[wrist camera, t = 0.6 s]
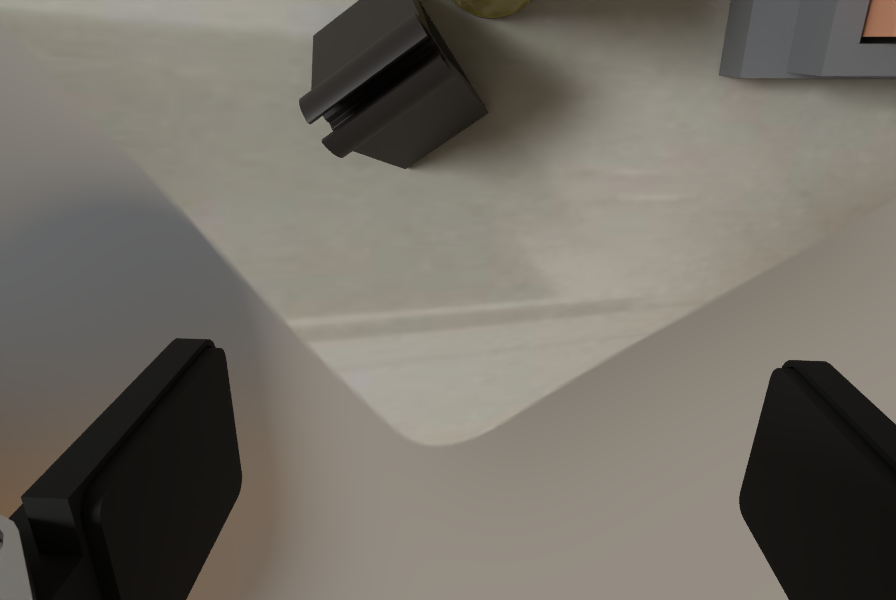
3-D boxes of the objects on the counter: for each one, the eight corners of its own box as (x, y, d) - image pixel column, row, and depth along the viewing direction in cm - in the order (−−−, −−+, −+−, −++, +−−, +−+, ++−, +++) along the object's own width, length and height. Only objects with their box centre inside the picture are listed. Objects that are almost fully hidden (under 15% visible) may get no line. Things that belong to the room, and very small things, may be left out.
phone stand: (488, 112, 36) (495, 145, 25) (405, 168, 38) (377, 222, 27) (400, -31, 34) (366, -65, 23) (314, 35, 35) (242, 33, 24)
